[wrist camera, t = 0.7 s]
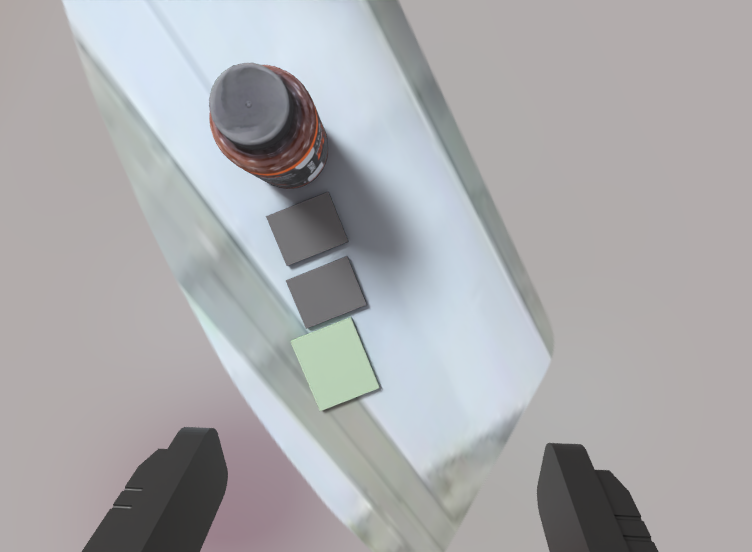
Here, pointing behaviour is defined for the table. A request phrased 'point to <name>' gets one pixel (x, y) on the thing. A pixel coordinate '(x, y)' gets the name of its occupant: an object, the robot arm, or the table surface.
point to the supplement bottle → (268, 124)
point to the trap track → (324, 303)
